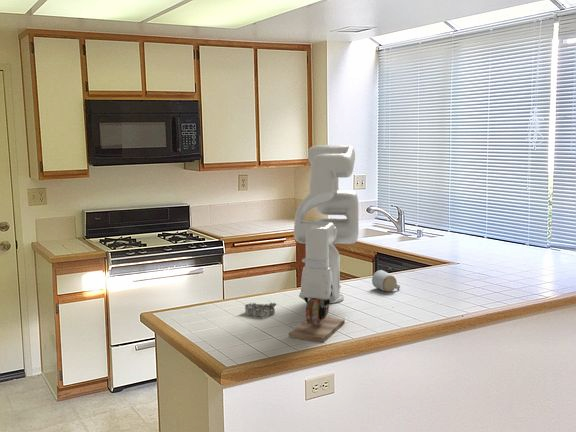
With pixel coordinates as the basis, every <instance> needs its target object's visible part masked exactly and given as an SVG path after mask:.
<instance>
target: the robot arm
mask: <svg viewBox="0 0 576 432" xmlns="http://www.w3.org/2000/svg"><path fill="white" fill-rule="evenodd" d="M307 160H308V162H309V164H310V167H311V168H310V179H309V180H310V182H309V193H308V194H307V196H305V197H304V198H303V199H302V201H301V202H300V203H299V204H298V207H297V209H296V211H295V214H294V224H293V226H294V227H293V237H294V240H295V241H296V242H297V243H299V244H305V257H304V258H302V259H301V262H302V264H304V266H303V267H302V272H301V280H300V292H299V294H298V297H299V298H300V299H301V300H304V302H305V303H306V304H307V303H308V301H309V300H310V299H312V298H314V299H321V307H320V308H319V319H321V320H322V319H323V318H324V317H325V316H326V306H327V305H328V304H333V303H339V302H342V301H344V298H345V296H344V295H343V294H342V293H340V292H341V291H340V289H341V287H342V286H341V284H340V282H341V279H340V276H341V275H340V273H341V272H340V271H341V270H340V268H341V267H340V265H341V262H340V260H341V258H340V256H341V255H340V253H339V250H338V248H336V246H335V244H339V245H340V244H343V245H344V244H347V245H351V244H355V243H356V242H357V241H358V239H359V198H358V194H357V192H355V191H354V190H349V189H347V190H344V189H343V190H341V189H339V178H341V179H342V178H346V179H347V178H350V177H351V176H352V174H353V172H354V168H355V160H356V153H355V148H353V146H352V145H349V144H318V145H317V144H316V145H313V146H311V147H309V148H308V150H307ZM315 208H316V211H317V213H318V214H321V215H325V216H345V217H346V218H319V219H317V220H315V221H311V220H310V221H309V220H307V221H304V217H305V215H306V214H308V212H309V211H310V210H312V209H315ZM327 299H328V300H327ZM326 317H327V316H326Z"/></svg>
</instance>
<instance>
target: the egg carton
mask: <svg viewBox="0 0 576 432" xmlns="http://www.w3.org/2000/svg"><path fill="white" fill-rule="evenodd" d="M243 306H244V311H245V315H252V316H253V317H259V316H260V318H262V317H264V318H269V317H270V316H273V315H276V311H275V307H276V306H277V303H275V302H273V303H272V302H271V303H269V304H268V303H256V302H250V303H246V304H243Z"/></svg>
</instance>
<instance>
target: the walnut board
mask: <svg viewBox="0 0 576 432" xmlns="http://www.w3.org/2000/svg"><path fill="white" fill-rule="evenodd" d="M345 323H346V321H345V319H344V318H337V317H329V316H326V318H325V319H323V320H322V321H321V322H320V323H319V324H318V325H312V324H308V323H307V321H306V320H304V321H303V322H300V324H298V325H297V326H296V327H295V328H294V329H292V330H291V331H289V333H288V338H289V339H299V340H306V341H312V342H320V343H325V342H326V341H327V340H328V339H329V338H330V337H332V336H333V334H335V333H336V332H337V331H338V330H339V329H340V328H342V327H343V326H344V325H345ZM343 324H344V325H343Z"/></svg>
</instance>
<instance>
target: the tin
mask: <svg viewBox="0 0 576 432" xmlns="http://www.w3.org/2000/svg"><path fill="white" fill-rule="evenodd" d="M327 300H328V299H327ZM329 304H330V303H329ZM329 304H328V305H327V306H326V316H325V317H324V318H323V319H325V318H326V317H328V314H329ZM320 307H321V299H314V298H312V299H310V300H309V301H308V303H306V308H305V317H306V318H305V319H306V321H307V323H308V324H312V325H318V324H319V323H320V322H321V321H322V320H323V319H322V320H321V319H319V308H320Z"/></svg>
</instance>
